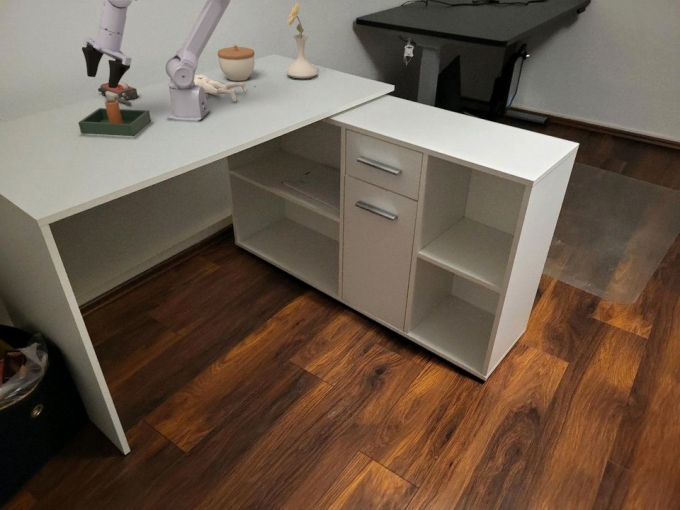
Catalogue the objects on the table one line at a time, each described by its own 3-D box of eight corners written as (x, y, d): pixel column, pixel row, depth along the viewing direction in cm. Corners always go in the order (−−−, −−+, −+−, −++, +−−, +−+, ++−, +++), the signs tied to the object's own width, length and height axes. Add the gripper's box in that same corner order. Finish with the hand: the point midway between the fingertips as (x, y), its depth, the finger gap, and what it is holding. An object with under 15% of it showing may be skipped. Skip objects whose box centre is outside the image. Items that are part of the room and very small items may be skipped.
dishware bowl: (253, 83, 180) (250, 50, 174) (217, 82, 180) (213, 49, 174) (258, 73, 191) (256, 41, 184) (224, 72, 191) (220, 40, 184)
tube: (125, 125, 144) (120, 99, 141) (120, 129, 142) (114, 104, 138) (114, 124, 145) (108, 99, 141) (108, 128, 142) (102, 103, 138)
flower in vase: (289, 71, 194) (287, -3, 180) (319, 73, 193) (319, -1, 179) (281, 81, 184) (278, 3, 169) (313, 83, 182) (312, 5, 168)
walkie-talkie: (92, 95, 167) (128, 109, 157) (89, 81, 165) (125, 94, 154) (117, 89, 173) (153, 102, 163) (114, 75, 170) (150, 88, 160)
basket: (151, 122, 148) (149, 110, 146) (134, 138, 138) (131, 125, 136) (102, 120, 149) (99, 107, 147) (81, 135, 139) (78, 122, 137)
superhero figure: (250, 97, 171) (187, 88, 179) (249, 78, 169) (185, 70, 176) (230, 103, 162) (165, 94, 170) (229, 83, 159) (163, 75, 167)
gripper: (77, 17, 132) (69, 70, 137) (120, 38, 128) (110, 92, 133) (99, 22, 138) (91, 72, 143) (141, 42, 135) (130, 93, 140)
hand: (101, 82), depth 139 cm, fingers open, 7 cm apart
